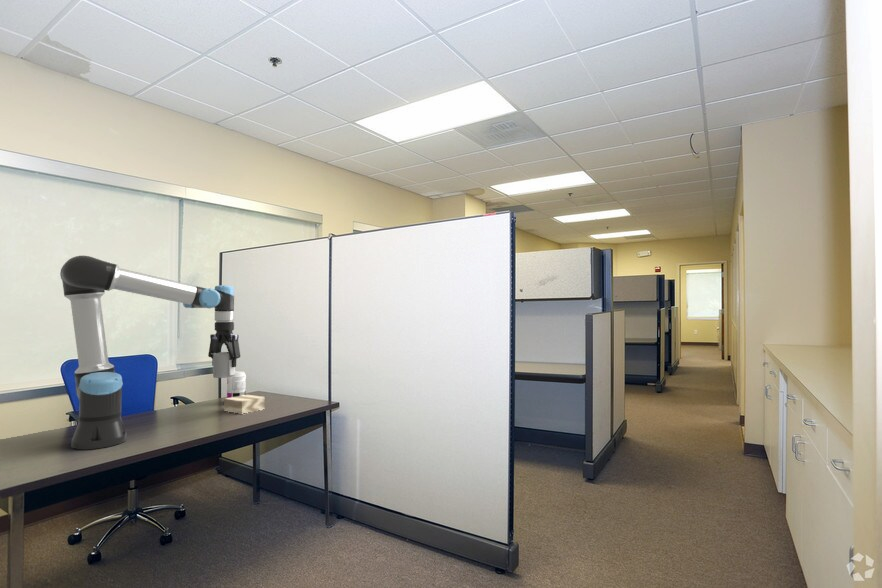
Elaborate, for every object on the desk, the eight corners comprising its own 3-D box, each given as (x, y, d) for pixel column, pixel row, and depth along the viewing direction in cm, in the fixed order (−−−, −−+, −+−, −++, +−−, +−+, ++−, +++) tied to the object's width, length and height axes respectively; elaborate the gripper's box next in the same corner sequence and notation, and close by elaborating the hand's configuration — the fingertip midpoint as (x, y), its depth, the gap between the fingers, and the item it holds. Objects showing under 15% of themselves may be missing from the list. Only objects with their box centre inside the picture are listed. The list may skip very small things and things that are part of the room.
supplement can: (223, 404, 217) (224, 373, 218) (232, 401, 226) (232, 370, 226) (240, 404, 217) (240, 373, 217) (248, 401, 225) (248, 371, 226)
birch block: (241, 415, 197) (242, 401, 197) (224, 412, 203) (224, 398, 203) (264, 410, 208) (264, 396, 208) (247, 407, 213) (247, 394, 214)
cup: (228, 377, 190) (228, 354, 190) (209, 377, 190) (209, 354, 190) (238, 374, 198) (238, 351, 198) (219, 374, 199) (219, 351, 199)
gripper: (250, 321, 194) (249, 374, 194) (213, 320, 202) (213, 371, 202) (236, 322, 187) (236, 376, 187) (198, 321, 195) (198, 374, 195)
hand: (224, 374), depth 194 cm, fingers closed on cup, 8 cm apart
